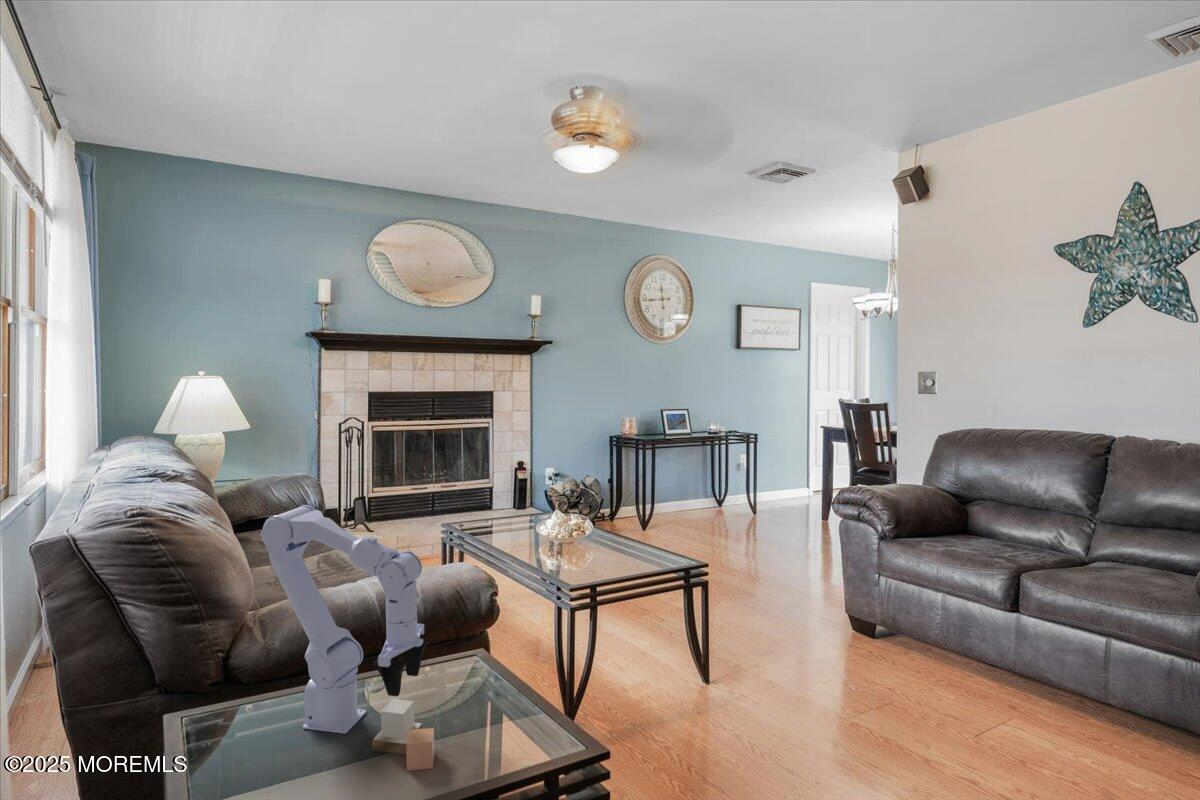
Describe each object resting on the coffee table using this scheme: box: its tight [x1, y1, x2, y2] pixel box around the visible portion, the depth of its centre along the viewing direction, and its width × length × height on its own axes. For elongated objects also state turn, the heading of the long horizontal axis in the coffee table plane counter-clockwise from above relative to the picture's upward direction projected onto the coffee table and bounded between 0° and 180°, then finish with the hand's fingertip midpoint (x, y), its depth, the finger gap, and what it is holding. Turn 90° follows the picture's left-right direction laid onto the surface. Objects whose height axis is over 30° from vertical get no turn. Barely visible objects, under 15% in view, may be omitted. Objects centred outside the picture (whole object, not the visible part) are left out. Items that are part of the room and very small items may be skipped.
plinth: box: [371, 722, 424, 755], centre depth 134 cm, size 7×7×2 cm
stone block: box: [380, 698, 416, 739], centre depth 133 cm, size 4×4×5 cm
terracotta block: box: [405, 727, 436, 771], centre depth 128 cm, size 4×4×5 cm
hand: (403, 684), depth 136 cm, fingers open, 7 cm apart
